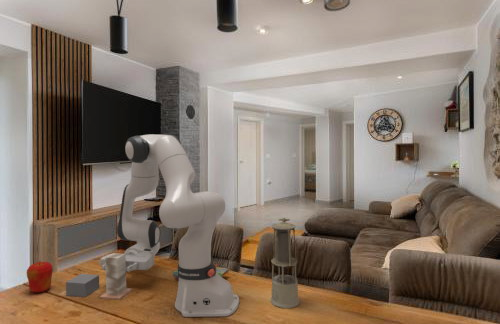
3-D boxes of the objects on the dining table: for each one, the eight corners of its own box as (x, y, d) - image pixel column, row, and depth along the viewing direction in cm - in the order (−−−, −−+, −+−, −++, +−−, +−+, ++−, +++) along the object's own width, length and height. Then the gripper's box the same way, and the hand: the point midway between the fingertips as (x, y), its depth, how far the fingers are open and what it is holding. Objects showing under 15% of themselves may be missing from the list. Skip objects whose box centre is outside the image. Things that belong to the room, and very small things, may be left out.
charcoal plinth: (99, 287, 125) (99, 275, 124) (85, 296, 117) (85, 283, 116) (81, 286, 126) (80, 273, 126) (66, 295, 118) (65, 282, 118)
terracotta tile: (131, 290, 122) (131, 288, 122) (119, 299, 114) (119, 298, 114) (113, 288, 123) (113, 287, 123) (99, 298, 116) (99, 296, 116)
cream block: (126, 290, 121) (125, 253, 120) (118, 295, 116) (117, 258, 115) (114, 289, 122) (113, 253, 121) (106, 294, 117) (105, 257, 116)
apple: (23, 291, 122) (22, 261, 121) (48, 284, 128) (47, 255, 128) (32, 297, 116) (31, 266, 116) (57, 289, 123) (56, 259, 123)
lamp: (268, 307, 108) (268, 220, 107) (272, 290, 121) (272, 213, 120) (299, 309, 106) (299, 221, 105) (299, 292, 119) (299, 213, 118)
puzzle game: (189, 260, 142) (228, 267, 134) (189, 271, 142) (228, 277, 134) (172, 269, 131) (215, 277, 123) (173, 281, 131) (215, 289, 123)
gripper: (112, 247, 134) (90, 259, 120) (157, 250, 130) (139, 262, 116) (112, 262, 134) (90, 275, 120) (157, 265, 130) (140, 279, 117)
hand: (115, 269), depth 118 cm, fingers open, 8 cm apart
